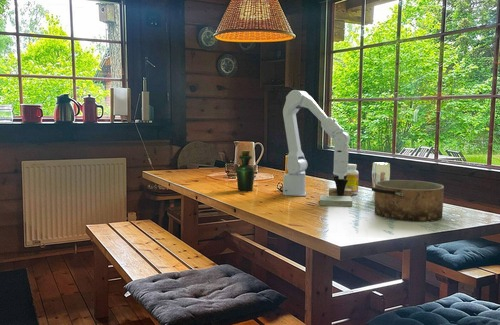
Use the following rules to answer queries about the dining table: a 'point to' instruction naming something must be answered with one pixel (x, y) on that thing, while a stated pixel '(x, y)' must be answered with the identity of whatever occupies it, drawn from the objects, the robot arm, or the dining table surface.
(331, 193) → the pallet
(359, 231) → the dining table surface
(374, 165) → the beer glass
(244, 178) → the potion bottle
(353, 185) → the supplement bottle
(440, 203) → the cooking pot
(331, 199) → the dock
